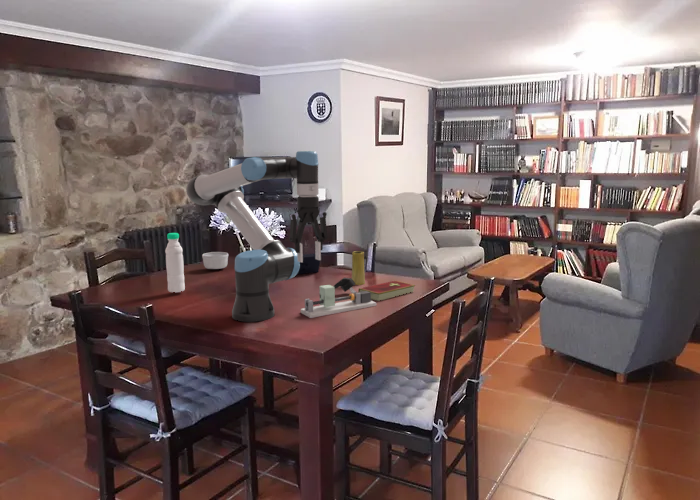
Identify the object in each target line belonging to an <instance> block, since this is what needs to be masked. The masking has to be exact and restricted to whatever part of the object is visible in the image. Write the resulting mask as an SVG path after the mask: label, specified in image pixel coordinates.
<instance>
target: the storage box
mask: <svg viewBox="0 0 700 500" xmlns="http://www.w3.org/2000/svg"><path fill="white" fill-rule="evenodd" d="M320 264H321V260H317V259H316V257H315V253H305V254H304V253H303V262H300V268H299V271H298V273H297V275H302V274H313V273H319V272H320V271H319V269H320Z"/></svg>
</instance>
